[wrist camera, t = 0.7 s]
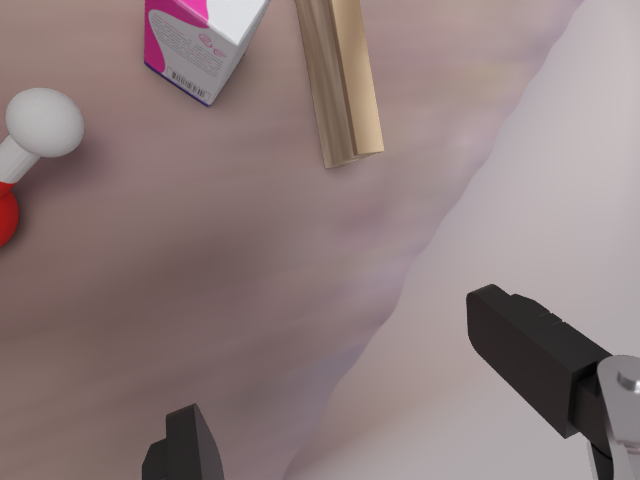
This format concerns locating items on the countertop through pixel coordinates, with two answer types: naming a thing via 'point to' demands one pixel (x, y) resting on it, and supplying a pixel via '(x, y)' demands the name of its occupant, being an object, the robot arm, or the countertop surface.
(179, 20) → the supplement box
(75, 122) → the molecular model
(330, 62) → the wooden plank offcut
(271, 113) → the countertop surface
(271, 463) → the countertop surface
